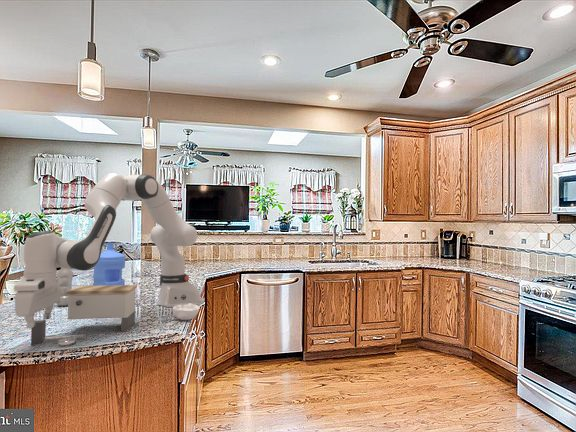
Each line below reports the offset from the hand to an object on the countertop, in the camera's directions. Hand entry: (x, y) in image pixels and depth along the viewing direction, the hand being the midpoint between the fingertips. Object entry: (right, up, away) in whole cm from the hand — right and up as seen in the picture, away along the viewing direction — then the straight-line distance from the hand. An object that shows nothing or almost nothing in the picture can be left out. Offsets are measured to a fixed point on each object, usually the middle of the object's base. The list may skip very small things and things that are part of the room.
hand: (39, 322), depth 114 cm
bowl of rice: (+39, -8, +30) cm, 50 cm away
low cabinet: (+12, -7, +16) cm, 21 cm away
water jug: (-17, -8, +78) cm, 80 cm away
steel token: (+10, -7, -1) cm, 12 cm away
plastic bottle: (-24, -7, +49) cm, 55 cm away
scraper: (+6, -7, +1) cm, 9 cm away
